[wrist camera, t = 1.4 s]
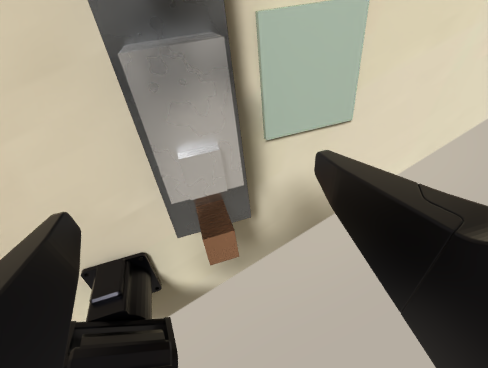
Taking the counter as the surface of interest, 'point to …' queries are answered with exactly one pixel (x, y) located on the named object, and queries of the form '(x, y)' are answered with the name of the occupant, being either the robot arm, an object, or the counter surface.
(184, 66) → the lever cap
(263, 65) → the mat
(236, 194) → the hand plane
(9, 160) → the counter surface
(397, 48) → the counter surface
